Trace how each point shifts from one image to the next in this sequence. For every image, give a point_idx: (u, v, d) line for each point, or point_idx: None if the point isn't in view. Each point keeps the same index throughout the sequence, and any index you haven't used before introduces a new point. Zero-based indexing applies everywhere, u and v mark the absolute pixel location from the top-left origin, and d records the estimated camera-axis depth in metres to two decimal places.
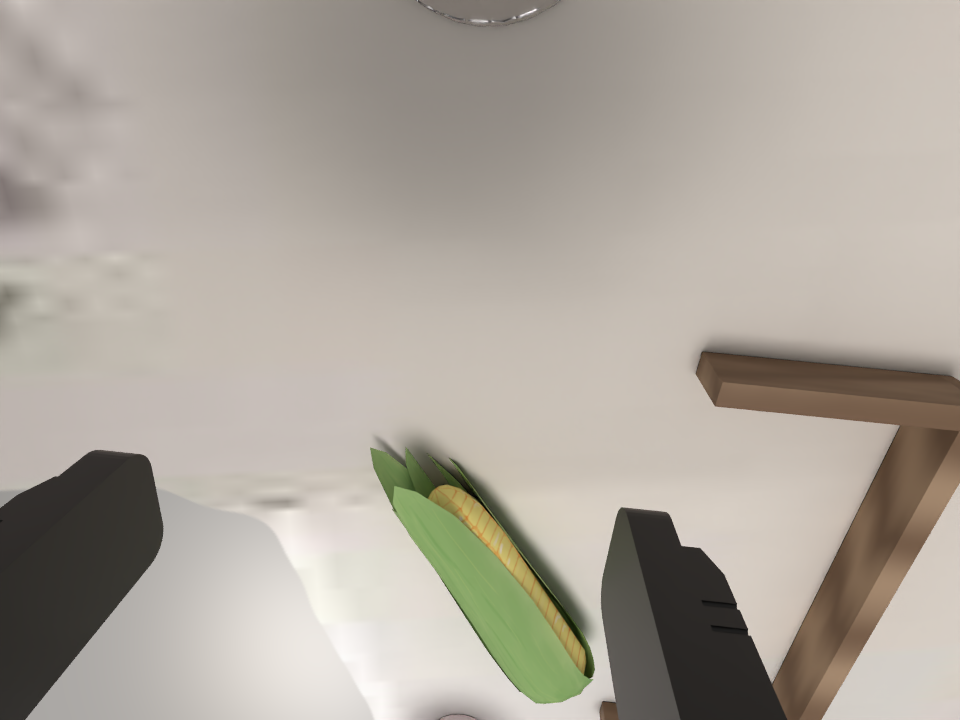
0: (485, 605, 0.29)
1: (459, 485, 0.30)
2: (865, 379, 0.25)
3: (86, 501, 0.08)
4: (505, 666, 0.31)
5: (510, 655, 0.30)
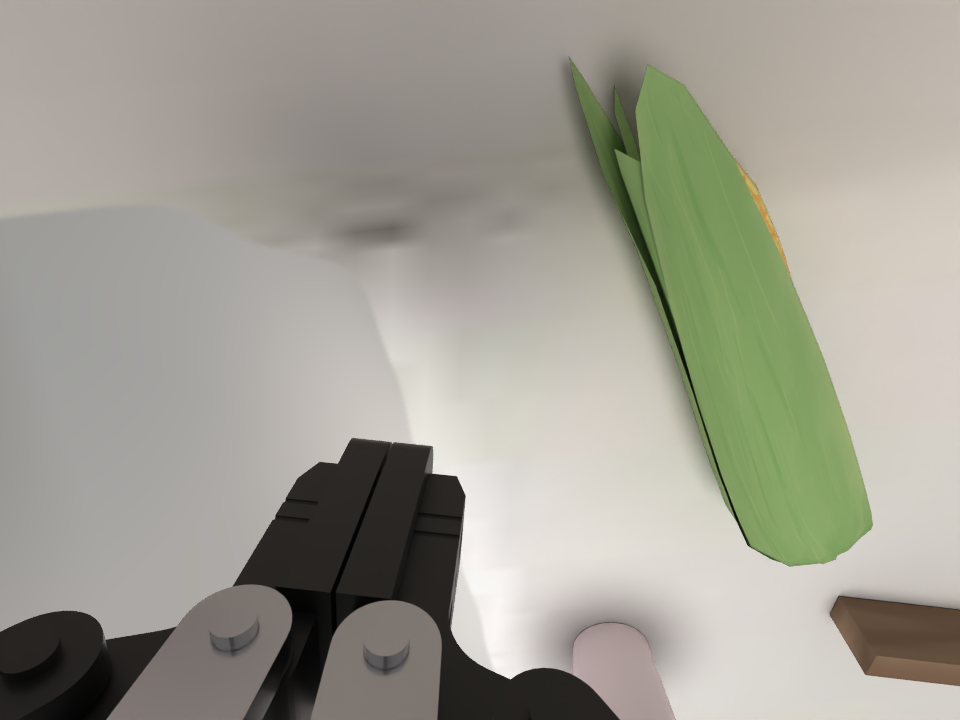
0: (755, 351, 0.16)
1: None
2: None
3: (373, 482, 0.09)
4: (756, 483, 0.18)
5: (774, 457, 0.17)
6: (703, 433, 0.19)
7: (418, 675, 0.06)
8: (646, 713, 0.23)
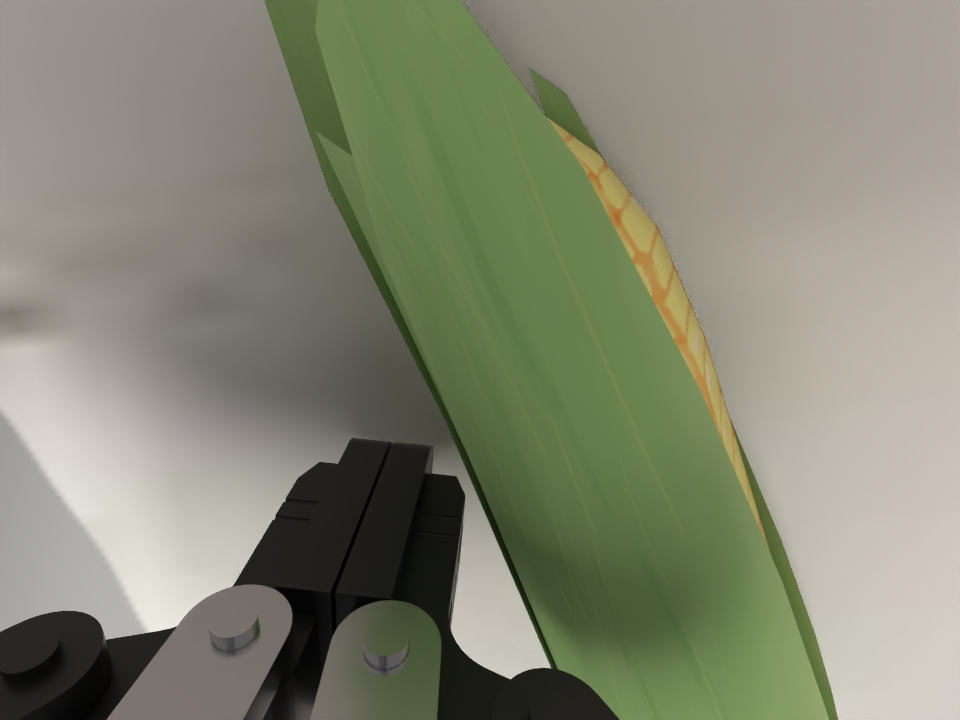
0: (636, 581, 0.08)
1: None
2: None
3: (373, 482, 0.09)
4: None
5: None
6: None
7: (418, 675, 0.06)
8: None
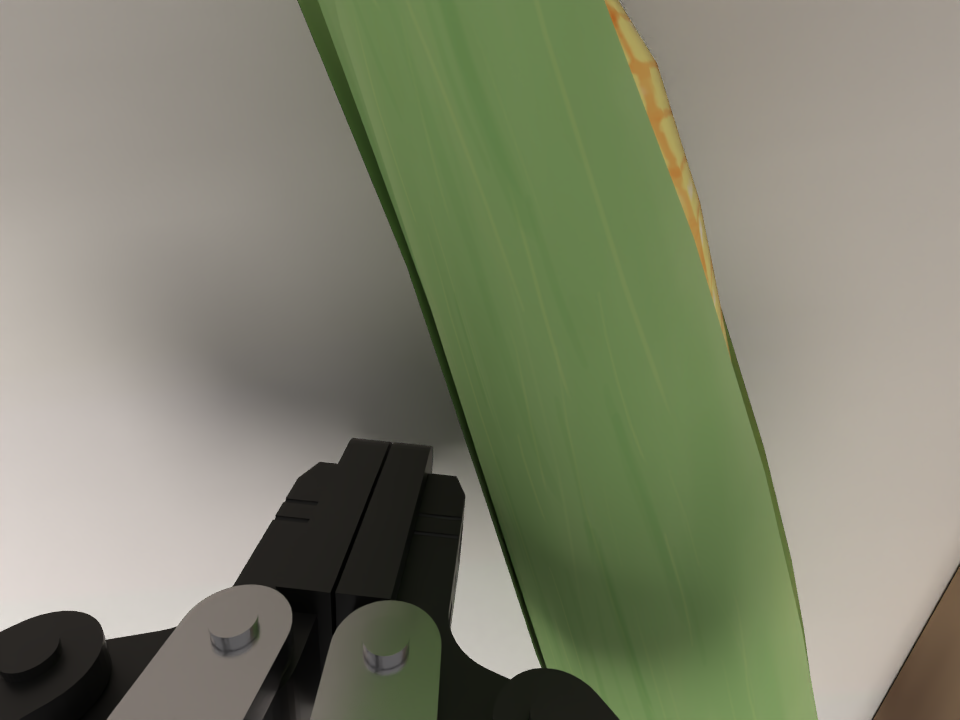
0: (607, 448, 0.07)
1: None
2: None
3: (373, 483, 0.09)
4: None
5: (638, 672, 0.08)
6: (517, 582, 0.09)
7: (418, 675, 0.06)
8: None
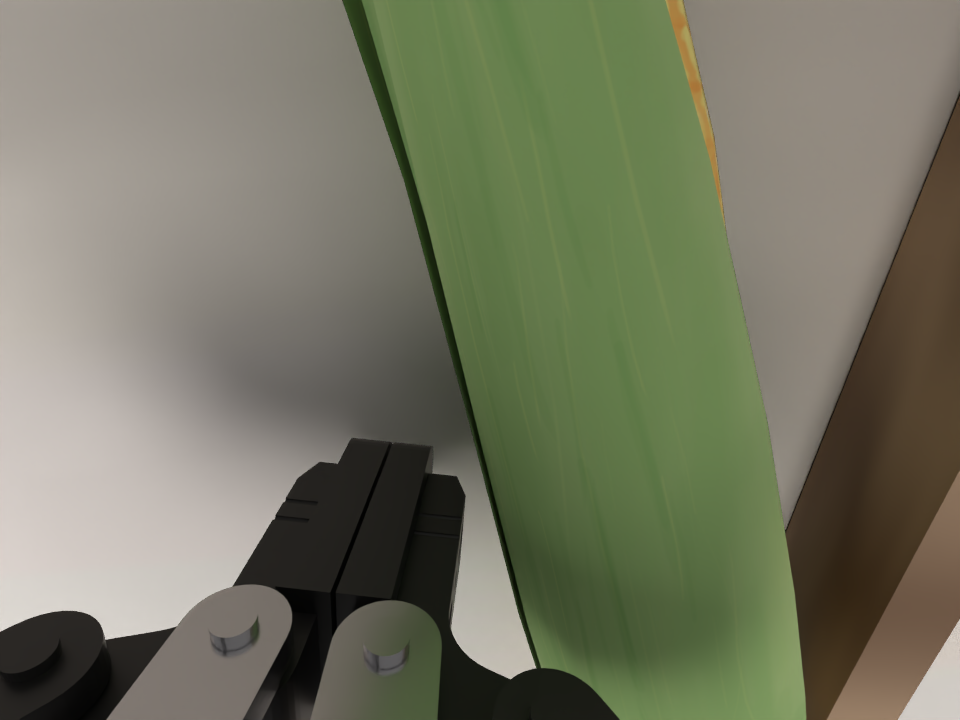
0: (607, 379, 0.07)
1: None
2: None
3: (373, 483, 0.09)
4: (583, 666, 0.08)
5: (625, 626, 0.08)
6: (502, 535, 0.09)
7: (418, 675, 0.06)
8: None
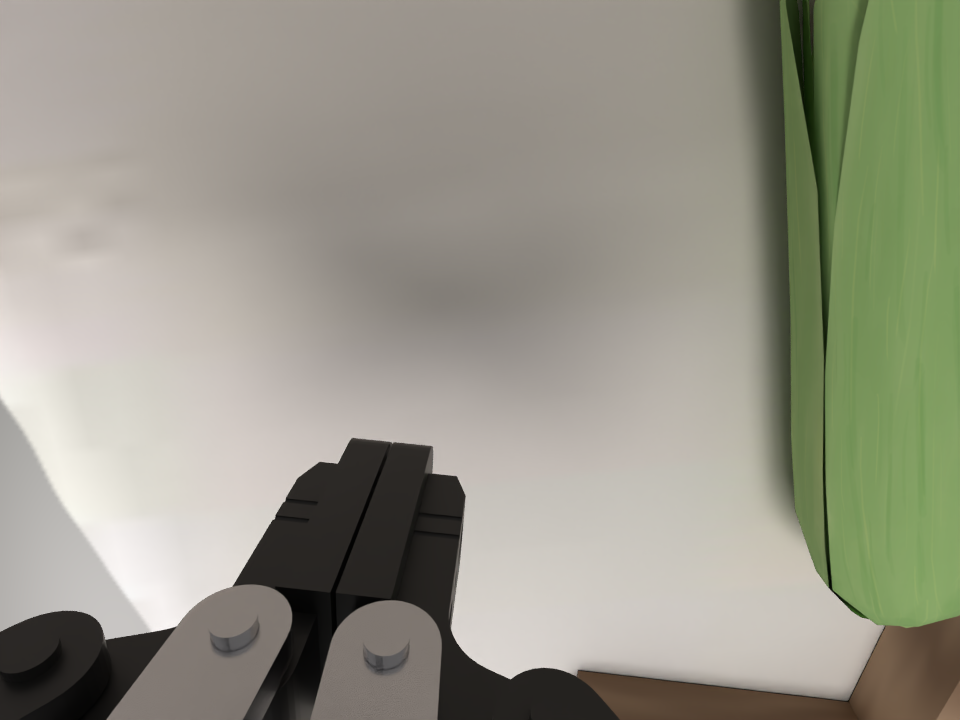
0: (946, 308, 0.11)
1: None
2: None
3: (373, 482, 0.09)
4: (882, 502, 0.13)
5: (922, 470, 0.12)
6: (814, 424, 0.14)
7: (418, 675, 0.06)
8: None
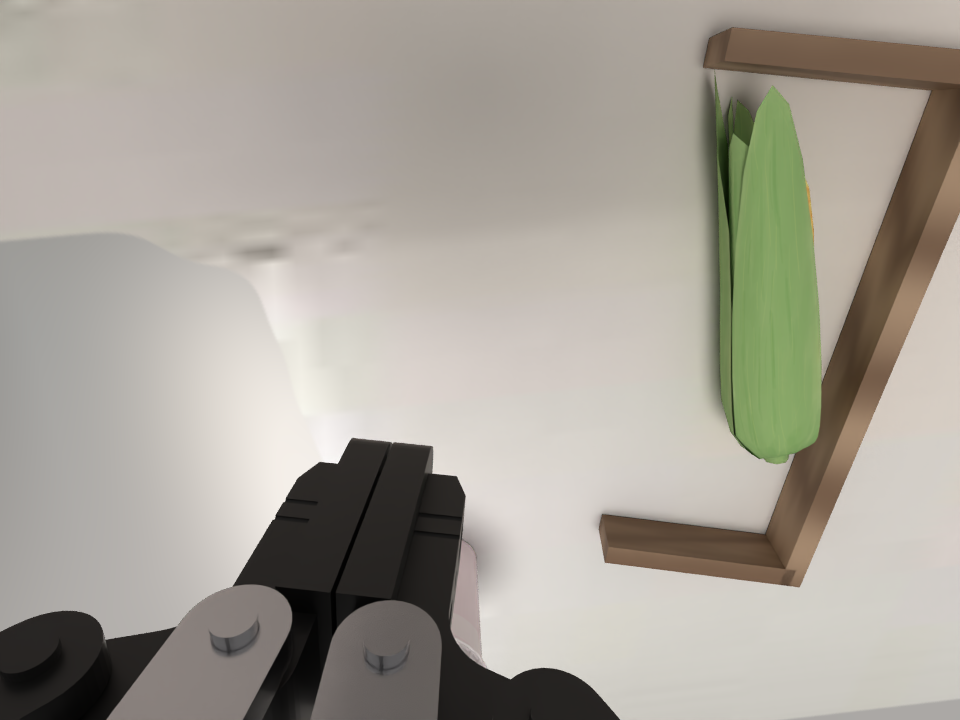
0: (782, 287, 0.25)
1: None
2: None
3: (373, 482, 0.09)
4: (756, 382, 0.27)
5: (773, 365, 0.26)
6: (727, 345, 0.28)
7: (418, 675, 0.06)
8: None
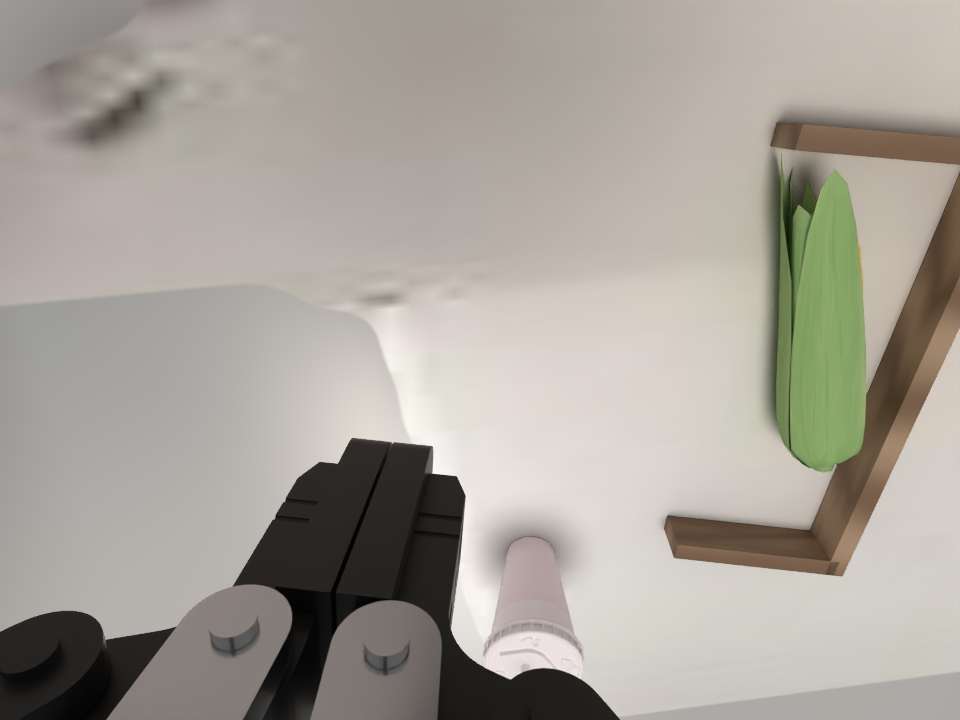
0: (836, 329, 0.30)
1: None
2: None
3: (373, 482, 0.09)
4: (811, 406, 0.32)
5: (827, 392, 0.31)
6: (786, 374, 0.33)
7: (418, 675, 0.06)
8: (541, 579, 0.38)
